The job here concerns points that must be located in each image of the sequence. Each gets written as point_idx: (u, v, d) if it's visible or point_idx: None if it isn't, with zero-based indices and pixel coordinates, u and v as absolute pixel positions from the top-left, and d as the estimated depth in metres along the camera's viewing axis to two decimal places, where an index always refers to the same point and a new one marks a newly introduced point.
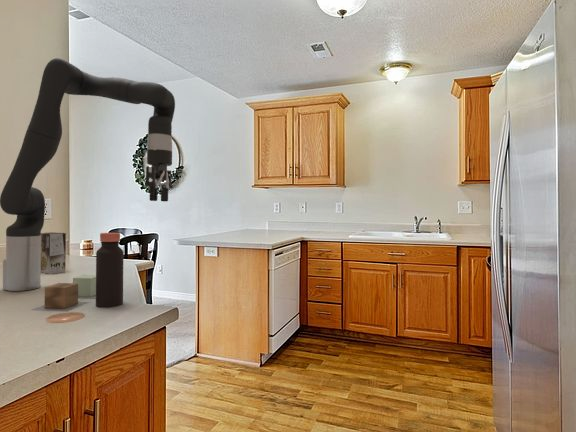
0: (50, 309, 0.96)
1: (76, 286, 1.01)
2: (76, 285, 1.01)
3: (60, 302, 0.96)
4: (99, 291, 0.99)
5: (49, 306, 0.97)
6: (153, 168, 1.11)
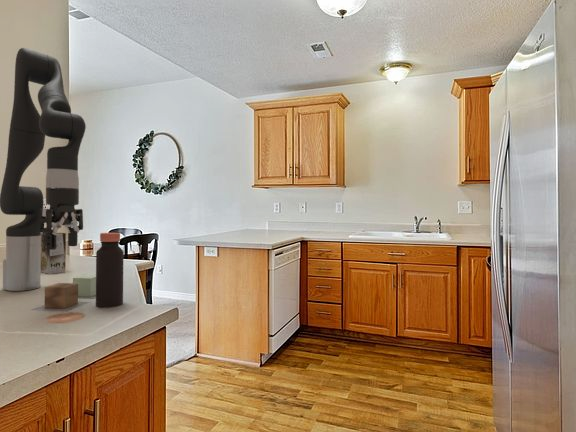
0: (50, 309, 0.96)
1: (76, 286, 1.01)
2: (76, 285, 1.01)
3: (60, 302, 0.96)
4: (99, 291, 0.99)
5: (49, 306, 0.97)
6: (48, 211, 0.92)
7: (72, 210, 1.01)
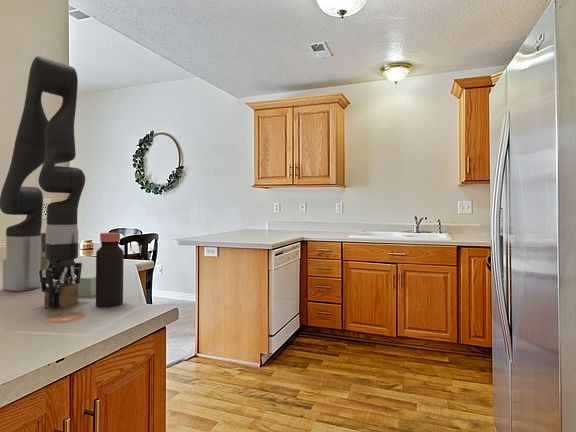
0: (50, 309, 0.96)
1: (76, 286, 1.01)
2: (76, 285, 1.01)
3: (60, 302, 0.96)
4: (99, 291, 0.99)
5: None
6: (47, 273, 0.93)
7: (72, 262, 1.02)
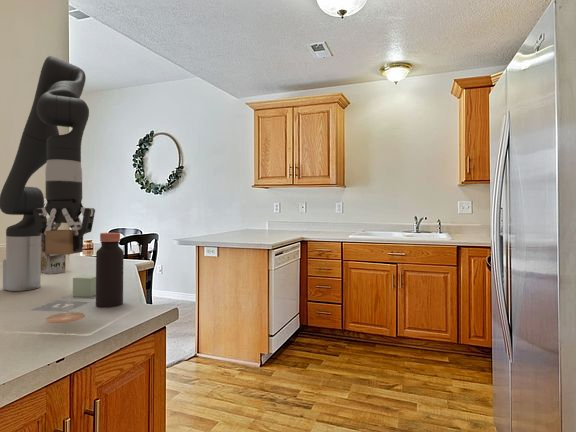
0: (50, 309, 0.96)
1: (64, 233, 0.86)
2: (65, 232, 0.86)
3: None
4: (99, 291, 0.99)
5: None
6: None
7: (72, 205, 0.87)
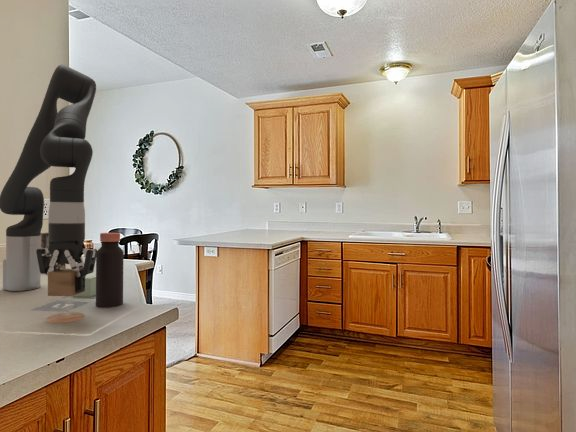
0: (50, 309, 0.96)
1: (66, 275, 0.86)
2: (67, 274, 0.86)
3: None
4: (99, 291, 0.99)
5: None
6: None
7: (74, 247, 0.87)
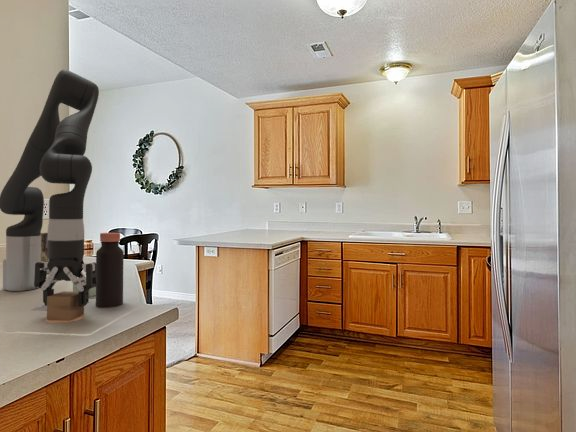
0: None
1: (65, 300, 0.86)
2: (66, 298, 0.86)
3: None
4: (99, 291, 0.99)
5: None
6: None
7: (73, 264, 0.87)
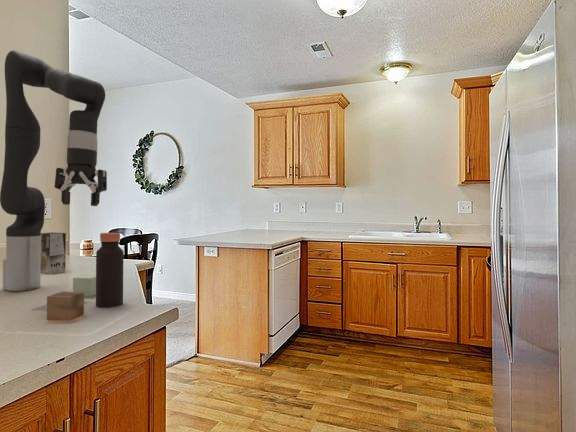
0: None
1: (66, 300, 0.86)
2: (66, 298, 0.86)
3: None
4: (99, 291, 0.99)
5: None
6: None
7: (87, 170, 1.05)
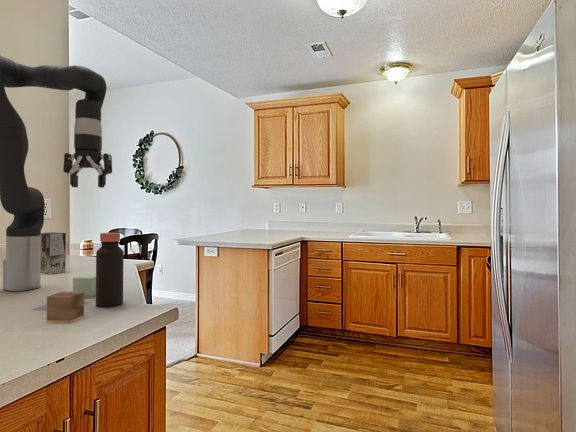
0: None
1: (65, 300, 0.86)
2: (66, 298, 0.86)
3: None
4: (99, 291, 0.99)
5: None
6: None
7: (93, 154, 1.14)
